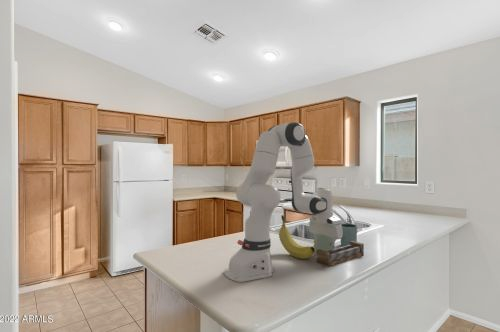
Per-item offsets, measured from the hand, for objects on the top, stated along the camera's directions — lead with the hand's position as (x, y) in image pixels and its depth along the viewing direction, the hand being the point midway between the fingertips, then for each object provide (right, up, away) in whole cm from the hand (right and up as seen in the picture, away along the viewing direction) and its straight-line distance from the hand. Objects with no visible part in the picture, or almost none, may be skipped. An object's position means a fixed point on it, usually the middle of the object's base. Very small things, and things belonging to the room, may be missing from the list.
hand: (324, 243), depth 145 cm
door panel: (0, -5, 0) cm, 5 cm away
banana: (-16, -5, -5) cm, 18 cm away
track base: (+6, -5, -9) cm, 12 cm away
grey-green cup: (+17, -5, +13) cm, 22 cm away
